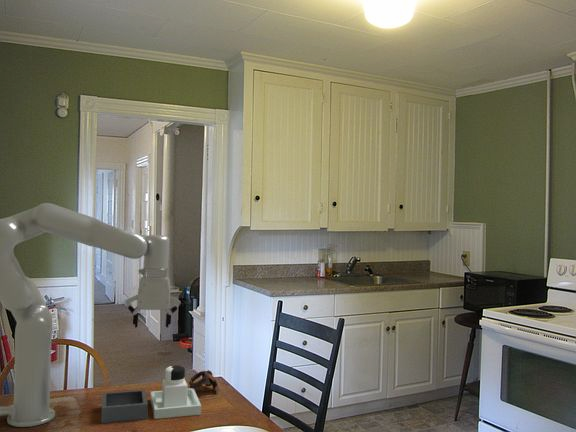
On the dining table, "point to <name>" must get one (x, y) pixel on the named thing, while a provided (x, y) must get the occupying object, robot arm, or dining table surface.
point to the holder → (124, 406)
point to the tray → (168, 412)
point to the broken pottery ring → (204, 381)
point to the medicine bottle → (174, 387)
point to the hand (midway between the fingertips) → (151, 326)
